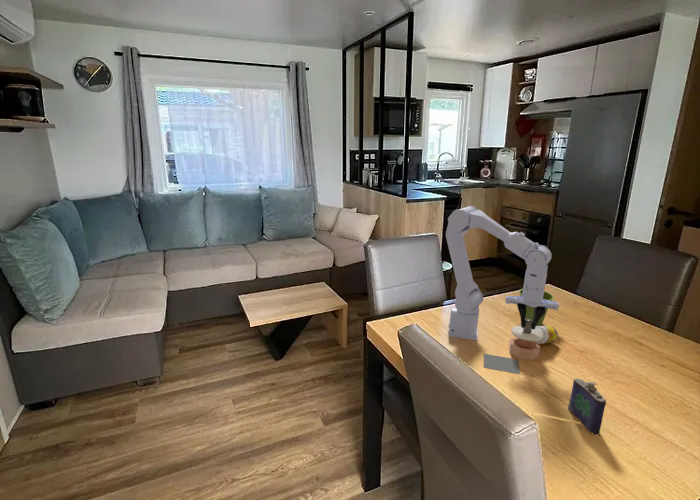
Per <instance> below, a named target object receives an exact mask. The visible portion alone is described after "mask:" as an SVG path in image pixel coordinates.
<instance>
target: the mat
mask: <svg viewBox="0 0 700 500" xmlns="http://www.w3.org/2000/svg"><path fill="white" fill-rule="evenodd" d="M483 368H484V369H490V370H493V371H494V370H495V371H501V372H506V373H511V374H517V375H521V370H520V364H519V358H511V357H506V356H499V355H495V354H488V353H483Z"/></svg>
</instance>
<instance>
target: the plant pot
mask: <svg viewBox="0 0 700 500" xmlns="http://www.w3.org/2000/svg"><path fill="white" fill-rule="evenodd" d="M522 293H523V288H521V289H519V290H518V294H519V296H522ZM543 299H546V300H550V301H554V299H555V296H554V294H553V293H550V292H548V291H545V290H544V295H543ZM526 310H527V311H526V316H525V319H531V320H533V316H534V307H530V306H528V305H526ZM545 310H546V312H545V314H544V315H543V316H542V317H541V318H540V320H539V321H538V323H537V325H536V326H543V323H544V320H545V317H546V315H547V312H548V310H549V308H545Z"/></svg>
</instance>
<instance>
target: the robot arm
mask: <svg viewBox="0 0 700 500" xmlns="http://www.w3.org/2000/svg"><path fill="white" fill-rule="evenodd" d="M447 222H448V223H447V227H446V230H445V239H446V243H447V247H448V251H449V255H450V259H451V264H452V269H453V272H454V276H455V280H456V284H457V285H456V288H455V292H454V297H455V300H454V306H455V307H451V308H450V309H451V310H450V315H449V316H450V318H449V323H448V336H449V337H453V338H459V339H460V338H461V339H464V340H465V339H467V340H470V341H471V340H472V341H478V337H479V335H478V333H479V329H478V325H479V323H478V322H479V318H480V317H479V315H480V308H479V307H480V305H481V304H482V303H483V302H484V301H483V300H484V295H483V293H482V292H481V290H480V288H479V285H478V284H477V283H476V282H475V281H474V278H473V274H472V270H471V265H470V262H469V257H468V252H467V247H466V245H465V244H466V243H465V240H464V239H465V238H464V236H465V234H466V233H467V232H468V230H469V229H478V228H479V229H482V230H484V231H485V232H488V234H491V235H492V236H494V237H495V238H497V239H499V240H500V241H502V242H503V243H504V244H503V245H504V248H506V249H507V250H509V251H510V252H512V253H514V254H515V255H516V256H518V257H520V258H521V259H522V260H524V261H525V264H526V270H525V275H524V281H523V287H522V289H523V293H522V296H520V295H507V294H506V295H505V304H508V305H510V304H512V305H513V304H514V305H516V306H517V310H518V312H519V316H520V326H521V328H524V324H525V316H526V311H527V310H526V305H528V306H530V307H534V316H533V325H532V329H535V327H536V325H537V323H538V321H539V320H540V318H541V317H542V316H543V315H544V314H545V312H546V310H545V308H548V309H550V310H551V309H552V310H554V311H559V307H560V303H559V302H558V301H554V300H552V301H550V300H546V299H543V295H544V291H545V287H546V281H547V277H548V267H549V265H548V264H549V262H551V260H552V256H553V255H552V252H551V250H550V249H549V248H548V247H547V246H546V245H542V244H539V242H534V241H532V240H531V239H529V238H527V237H526V236H525V235H526V234H525V233H524V232H523V231H520V232H518V231H513V232H511V231H510V230H508V229H506V228H505V227H504V226H502V225H501V224H500V223H498V222H497V221H495V220H494V219H492V218H491V217H490V216H488V215H487V214H486V213H485V212H484V211H483V210H481V209H478V208H477V207H475V206H473V205H468V206H466V207H463V208H459V209H458V208H457V209H455V210H453V211H452V213H450V215H449V216H448V218H447Z"/></svg>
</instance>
